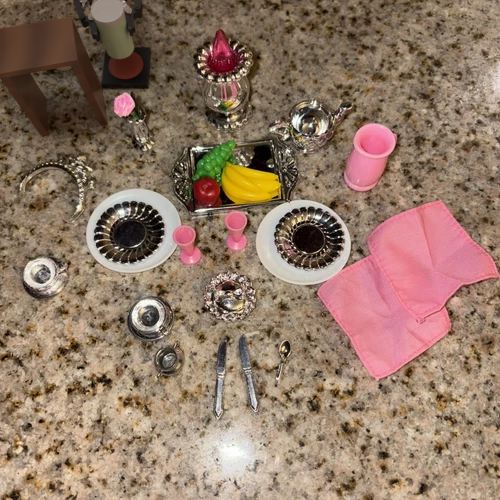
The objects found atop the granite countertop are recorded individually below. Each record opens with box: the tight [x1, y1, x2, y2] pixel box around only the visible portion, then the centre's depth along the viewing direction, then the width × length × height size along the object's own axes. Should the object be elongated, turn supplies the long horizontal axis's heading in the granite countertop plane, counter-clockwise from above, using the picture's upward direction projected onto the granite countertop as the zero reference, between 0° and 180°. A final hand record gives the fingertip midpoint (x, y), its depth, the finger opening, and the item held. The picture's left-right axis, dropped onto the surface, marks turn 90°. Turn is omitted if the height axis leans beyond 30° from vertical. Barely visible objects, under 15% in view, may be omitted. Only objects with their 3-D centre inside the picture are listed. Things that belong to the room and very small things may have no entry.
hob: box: [100, 46, 152, 89], centre depth 109 cm, size 10×10×2 cm
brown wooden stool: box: [0, 16, 109, 138], centre depth 97 cm, size 14×10×20 cm
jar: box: [90, 0, 135, 59], centre depth 99 cm, size 6×6×10 cm
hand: (114, 35), depth 97 cm, fingers closed on jar, 6 cm apart
